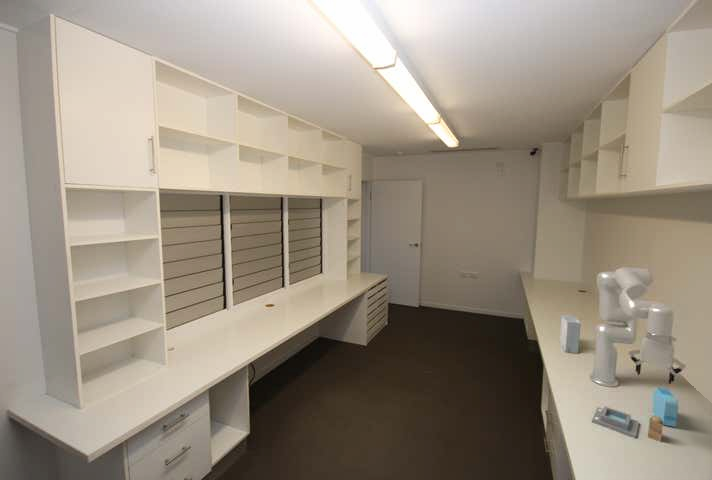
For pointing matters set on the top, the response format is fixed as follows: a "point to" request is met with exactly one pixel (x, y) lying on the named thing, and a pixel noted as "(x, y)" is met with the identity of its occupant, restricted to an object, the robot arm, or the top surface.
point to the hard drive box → (570, 334)
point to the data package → (665, 406)
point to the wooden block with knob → (655, 428)
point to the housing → (616, 421)
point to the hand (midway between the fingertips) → (654, 378)
